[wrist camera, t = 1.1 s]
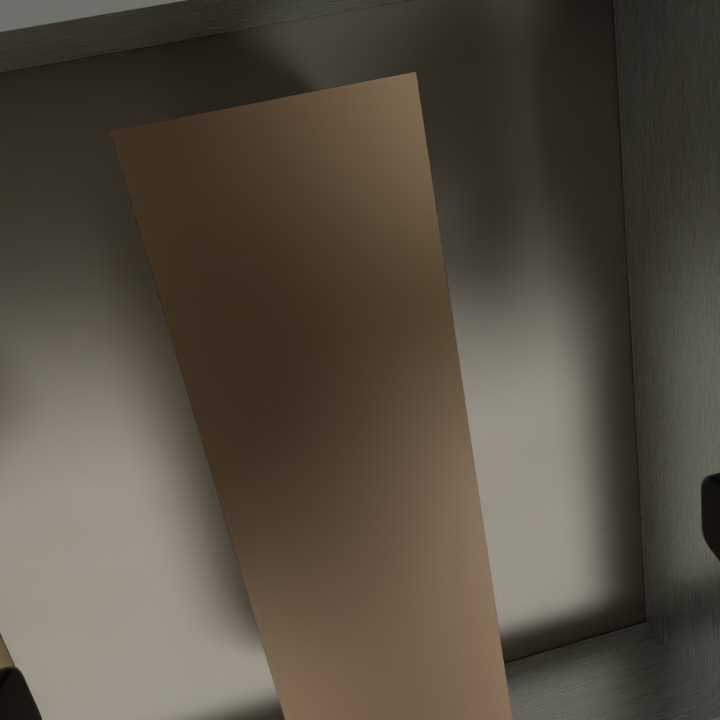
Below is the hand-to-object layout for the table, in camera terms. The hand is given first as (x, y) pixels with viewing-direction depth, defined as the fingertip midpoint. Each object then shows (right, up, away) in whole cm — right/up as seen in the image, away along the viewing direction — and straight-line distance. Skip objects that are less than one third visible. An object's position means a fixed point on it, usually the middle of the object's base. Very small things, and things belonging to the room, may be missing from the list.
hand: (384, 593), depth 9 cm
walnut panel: (-1, +2, +6) cm, 6 cm away
